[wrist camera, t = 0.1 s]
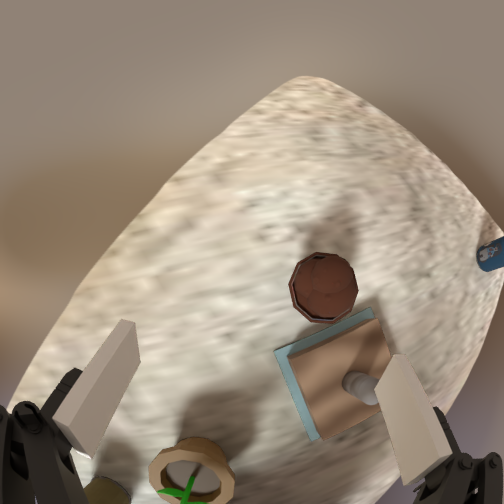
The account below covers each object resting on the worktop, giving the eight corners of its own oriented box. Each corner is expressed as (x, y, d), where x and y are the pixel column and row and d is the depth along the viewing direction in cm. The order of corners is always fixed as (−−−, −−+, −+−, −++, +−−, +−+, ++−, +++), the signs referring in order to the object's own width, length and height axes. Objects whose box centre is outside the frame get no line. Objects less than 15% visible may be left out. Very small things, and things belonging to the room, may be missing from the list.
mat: (398, 393, 44) (400, 394, 44) (310, 440, 42) (311, 441, 41) (369, 307, 49) (370, 307, 48) (273, 351, 46) (274, 351, 46)
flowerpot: (174, 485, 38) (128, 578, 9) (155, 428, 42) (77, 509, 13) (243, 481, 39) (243, 589, 10) (228, 423, 43) (211, 527, 14)
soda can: (492, 266, 52) (522, 255, 40) (481, 277, 51) (513, 267, 39) (483, 243, 53) (513, 229, 41) (471, 253, 52) (503, 239, 41)
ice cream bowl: (269, 284, 49) (279, 268, 35) (320, 254, 51) (347, 228, 37) (299, 335, 47) (321, 339, 33) (348, 302, 49) (386, 293, 34)
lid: (391, 391, 44) (428, 406, 31) (316, 431, 42) (338, 460, 29) (366, 318, 48) (402, 315, 35) (286, 356, 46) (301, 368, 33)
